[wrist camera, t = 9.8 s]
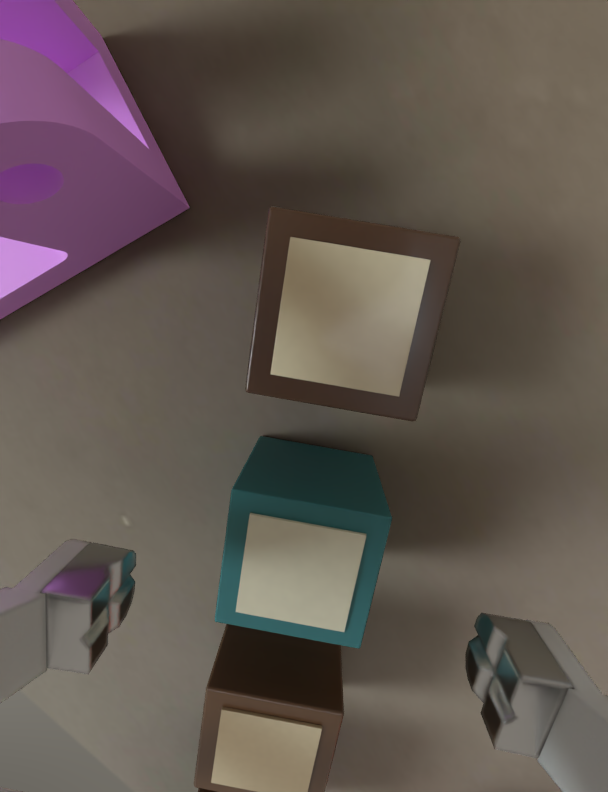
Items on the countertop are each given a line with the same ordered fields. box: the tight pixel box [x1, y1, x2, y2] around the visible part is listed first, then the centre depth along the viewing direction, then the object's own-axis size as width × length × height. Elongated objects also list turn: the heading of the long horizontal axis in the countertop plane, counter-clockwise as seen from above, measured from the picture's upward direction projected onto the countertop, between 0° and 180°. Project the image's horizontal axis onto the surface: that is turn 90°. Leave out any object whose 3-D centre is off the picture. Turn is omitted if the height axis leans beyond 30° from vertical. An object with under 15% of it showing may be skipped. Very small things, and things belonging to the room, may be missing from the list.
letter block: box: [215, 436, 392, 649], centre depth 12 cm, size 4×4×4 cm
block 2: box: [245, 207, 460, 421], centre depth 11 cm, size 4×4×4 cm
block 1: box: [194, 624, 344, 792], centre depth 14 cm, size 4×4×4 cm
